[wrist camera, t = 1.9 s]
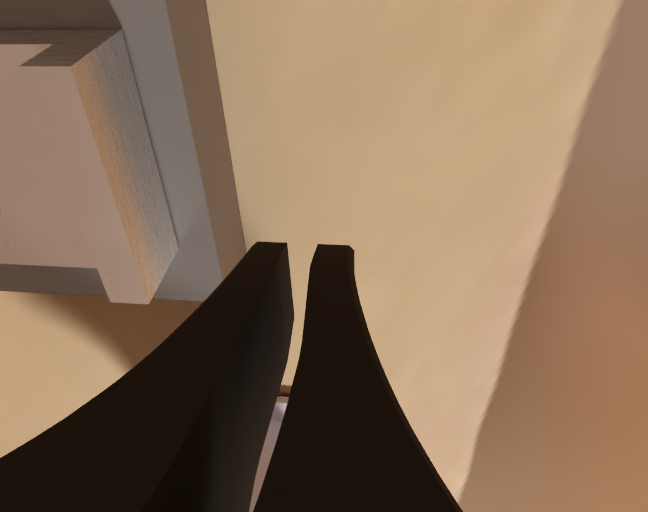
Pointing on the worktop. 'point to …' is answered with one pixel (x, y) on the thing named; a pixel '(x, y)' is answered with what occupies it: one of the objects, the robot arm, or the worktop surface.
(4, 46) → the plate
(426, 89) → the worktop surface
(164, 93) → the socket board
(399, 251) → the worktop surface
